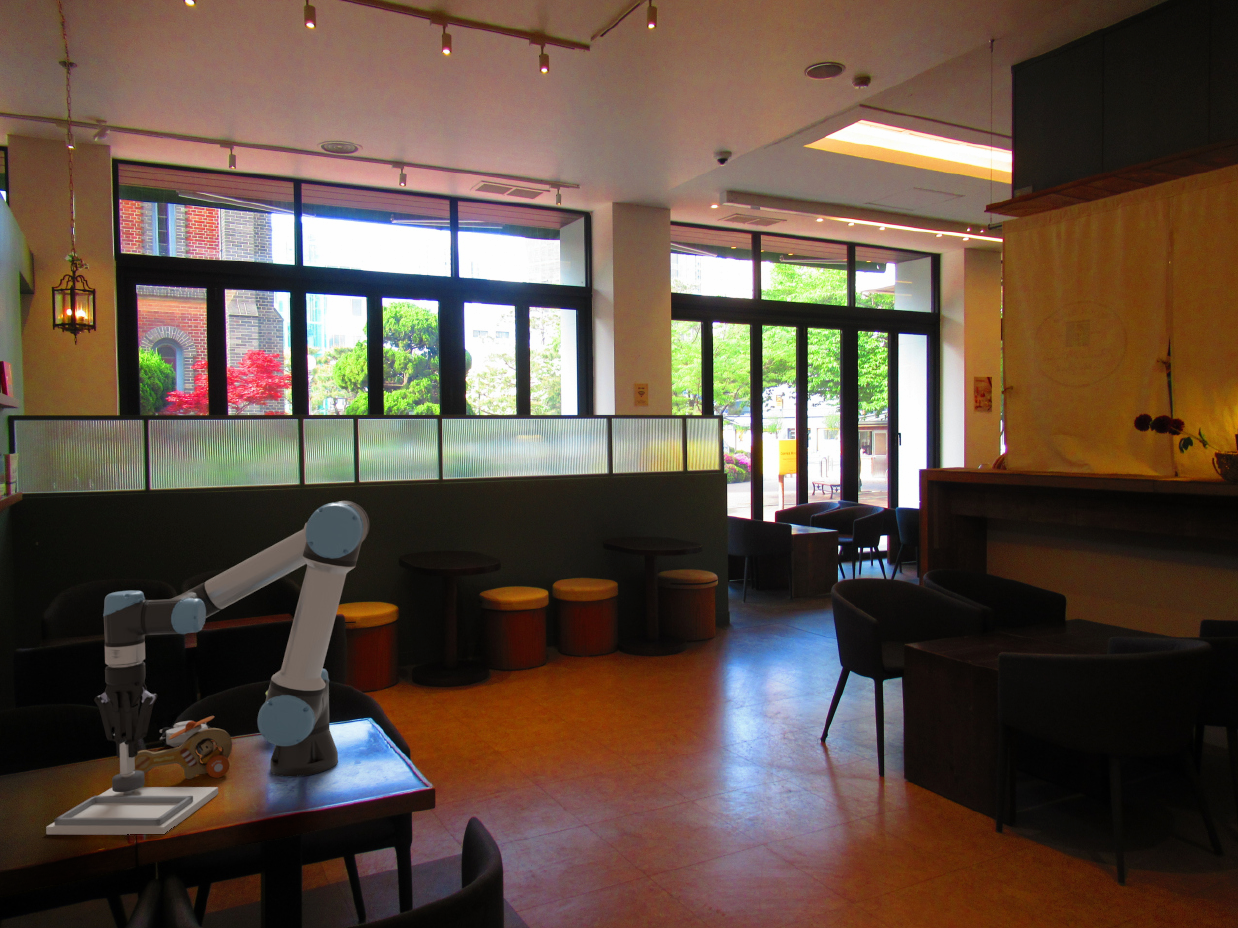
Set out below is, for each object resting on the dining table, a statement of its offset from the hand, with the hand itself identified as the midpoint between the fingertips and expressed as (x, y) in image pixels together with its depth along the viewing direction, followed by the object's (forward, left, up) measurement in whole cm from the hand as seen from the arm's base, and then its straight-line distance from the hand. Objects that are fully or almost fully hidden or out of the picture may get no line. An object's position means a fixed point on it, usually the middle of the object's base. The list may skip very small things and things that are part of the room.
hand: (127, 771), depth 182 cm
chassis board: (-6, +6, -6) cm, 11 cm away
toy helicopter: (-6, -13, -7) cm, 15 cm away
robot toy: (+10, -39, -7) cm, 40 cm away
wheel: (0, 0, -3) cm, 3 cm away
